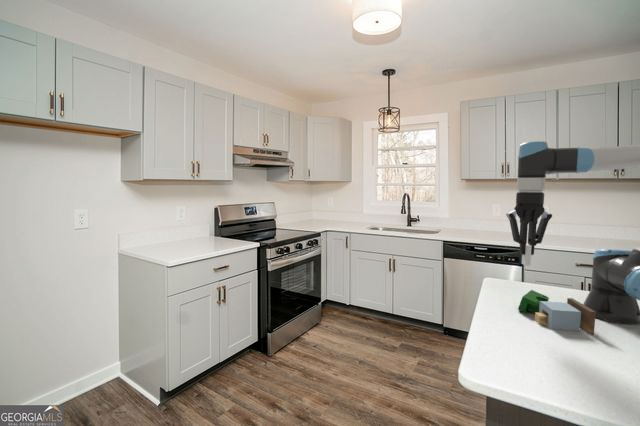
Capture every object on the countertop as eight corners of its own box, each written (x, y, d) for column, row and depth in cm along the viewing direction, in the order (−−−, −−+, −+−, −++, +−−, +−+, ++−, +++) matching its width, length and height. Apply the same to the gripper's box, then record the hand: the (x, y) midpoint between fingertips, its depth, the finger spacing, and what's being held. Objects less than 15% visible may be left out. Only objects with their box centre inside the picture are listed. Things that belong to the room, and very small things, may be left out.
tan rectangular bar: (558, 323, 109) (559, 314, 109) (563, 326, 106) (563, 317, 106) (534, 321, 110) (535, 312, 110) (538, 324, 107) (539, 315, 107)
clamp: (534, 326, 116) (539, 308, 111) (515, 317, 120) (520, 299, 115) (546, 306, 122) (552, 288, 118) (529, 298, 126) (534, 280, 122)
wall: (570, 318, 112) (572, 298, 111) (593, 334, 100) (595, 311, 100) (565, 318, 112) (567, 298, 112) (588, 334, 100) (590, 311, 100)
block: (564, 320, 110) (566, 302, 110) (579, 330, 103) (581, 311, 102) (538, 318, 112) (539, 301, 111) (550, 328, 104) (552, 309, 103)
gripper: (546, 191, 109) (541, 262, 111) (503, 191, 111) (499, 261, 113) (559, 192, 102) (554, 268, 104) (513, 191, 103) (509, 266, 105)
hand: (525, 264), depth 108 cm, fingers closed
